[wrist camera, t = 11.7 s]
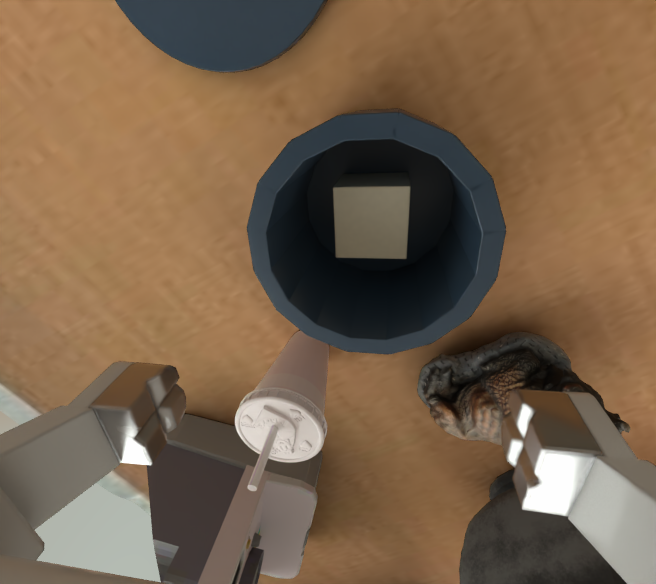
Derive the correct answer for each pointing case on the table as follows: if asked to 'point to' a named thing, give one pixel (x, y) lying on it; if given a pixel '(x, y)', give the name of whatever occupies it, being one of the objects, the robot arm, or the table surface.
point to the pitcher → (527, 546)
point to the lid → (223, 29)
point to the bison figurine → (496, 384)
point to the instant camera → (227, 508)
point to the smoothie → (287, 406)
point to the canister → (376, 273)
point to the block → (372, 215)
